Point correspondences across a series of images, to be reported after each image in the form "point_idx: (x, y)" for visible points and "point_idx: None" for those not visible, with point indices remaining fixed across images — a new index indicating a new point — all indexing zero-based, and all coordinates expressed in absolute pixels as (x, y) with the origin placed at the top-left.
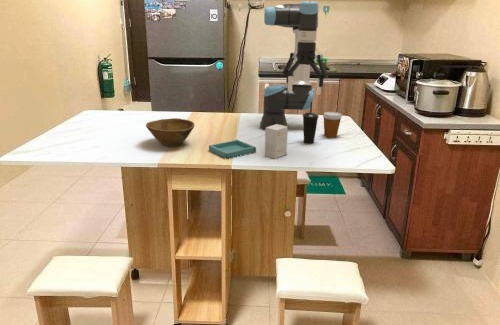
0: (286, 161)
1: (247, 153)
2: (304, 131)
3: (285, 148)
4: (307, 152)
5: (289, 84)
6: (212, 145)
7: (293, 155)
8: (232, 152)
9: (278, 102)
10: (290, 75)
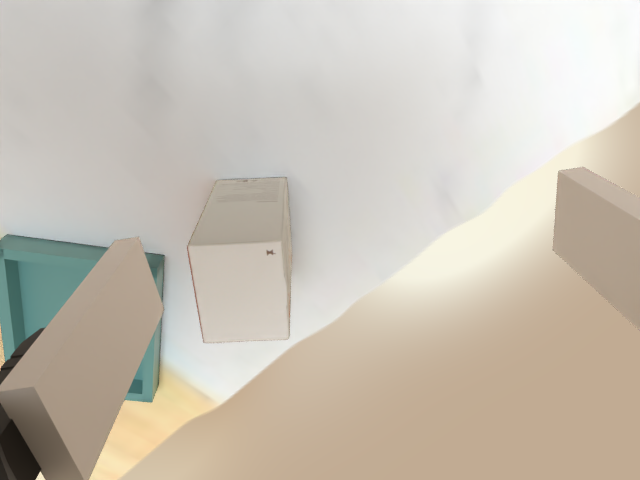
0: (346, 248)
1: (161, 299)
2: None
3: (286, 199)
4: (345, 67)
5: (134, 370)
6: None
7: (320, 162)
8: (153, 378)
9: None
10: (8, 429)
